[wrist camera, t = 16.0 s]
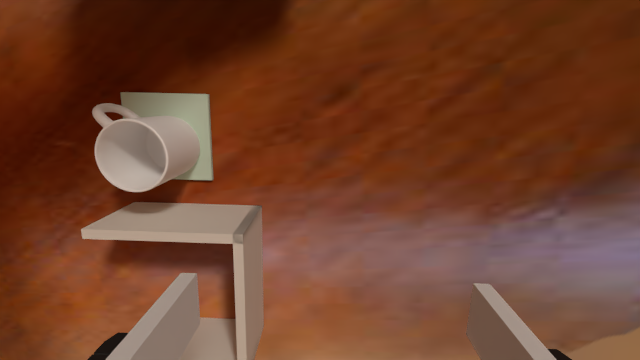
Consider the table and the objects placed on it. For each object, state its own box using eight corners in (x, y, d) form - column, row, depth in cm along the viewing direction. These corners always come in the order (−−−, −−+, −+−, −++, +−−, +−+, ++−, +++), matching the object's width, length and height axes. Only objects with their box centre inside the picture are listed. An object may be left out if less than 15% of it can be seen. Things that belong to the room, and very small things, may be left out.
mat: (122, 92, 46) (120, 92, 45) (209, 94, 46) (207, 94, 45) (131, 176, 49) (129, 177, 48) (213, 179, 49) (211, 180, 48)
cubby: (134, 201, 50) (81, 229, 39) (261, 205, 49) (242, 234, 39) (147, 321, 54) (102, 375, 44) (263, 326, 54) (247, 382, 43)
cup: (176, 185, 48) (136, 206, 38) (111, 125, 47) (52, 131, 37) (214, 145, 47) (183, 157, 37) (148, 82, 45) (97, 76, 35)
